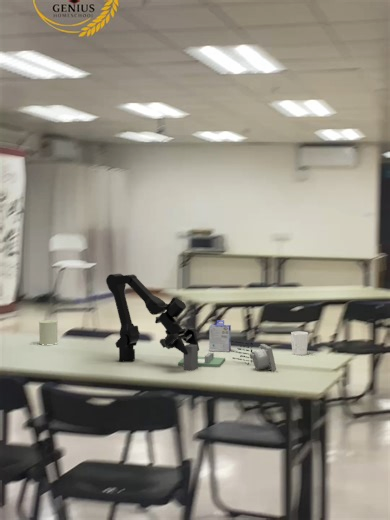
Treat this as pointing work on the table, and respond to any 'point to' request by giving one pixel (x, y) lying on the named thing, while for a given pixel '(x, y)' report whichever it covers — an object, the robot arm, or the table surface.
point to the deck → (212, 364)
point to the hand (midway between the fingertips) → (192, 352)
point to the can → (48, 332)
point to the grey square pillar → (191, 357)
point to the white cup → (299, 342)
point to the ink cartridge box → (220, 337)
